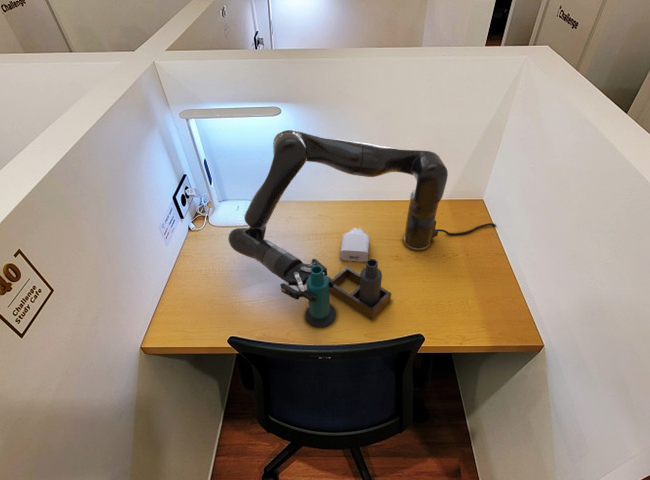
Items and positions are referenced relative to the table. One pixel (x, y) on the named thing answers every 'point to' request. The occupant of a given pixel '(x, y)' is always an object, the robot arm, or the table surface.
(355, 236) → the charger
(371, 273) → the charcoal bottle
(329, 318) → the coaster
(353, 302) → the caddy
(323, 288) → the teal bottle
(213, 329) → the table surface
